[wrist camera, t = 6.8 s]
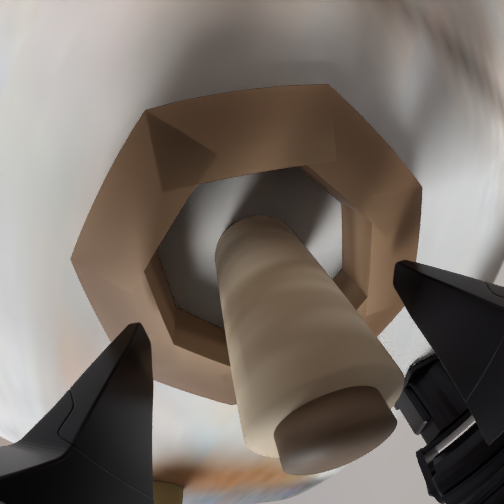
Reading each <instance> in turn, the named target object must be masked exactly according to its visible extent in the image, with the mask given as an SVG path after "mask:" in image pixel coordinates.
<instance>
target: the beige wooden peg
mask: <svg viewBox="0 0 504 504" xmlns="http://www.w3.org/2000/svg"><path fill="white" fill-rule="evenodd" d="M215 263H216V271H217V279H218V286H219V293H220V300H221V307H222V314H223V321H224V328H225V334H226V341H227V347H228V353H229V360H230V366H231V372H232V377H233V383H234V389H235V395H236V400H237V406H238V411H239V417H240V422H241V427H242V432H243V437H244V441H245V444H246V446H247V447H248V448H249V449H250V450H251V451H253V452H255V453H257V454H260V455H263V456H267V457H275V458H280V461H281V465H282V468H283V471H284V472H285V473H287V474H290V475H311V474H317V473H321V472H325V471H329V470H332V469H335V468H338V467H341V466H343V465H346V464H348V463H350V462H352V461H354V460H356V459H358V458H360V457H362V456H364V455H366V454H367V453H369V452H370V451H372V450H373V449H375V448H376V447H377V446H379V445H380V444H381V443H382V442H384V441H385V440H386V439H387V438H388V437H389V436H390V435H391V434H392V432H393V431H394V430H395V428H396V425H397V420H396V418H395V417H394V415H393V413H392V412H391V410H390V409H391V408H392V407H393V405H394V404H395V403H396V401H397V400H398V398H399V396H400V394H401V392H402V390H403V387H404V375H403V373H402V371H401V370H400V368H399V367H398V366H397V364H396V363H395V361H394V360H393V359H392V357H391V356H390V355H389V353H388V352H387V350H386V349H385V348H384V346H383V345H382V344H381V342H380V341H379V340H378V338H377V337H376V336H375V334H374V333H373V332H372V330H371V329H370V328H369V326H368V325H367V324H366V322H365V321H364V320H363V318H362V317H361V316H360V315H359V313H358V312H357V311H356V309H355V308H354V307H353V306H352V304H351V303H350V302H349V300H348V299H347V298H346V297H345V295H344V294H343V293H342V291H341V290H340V289H339V288H338V286H337V285H336V284H335V283H334V281H333V280H332V279H331V278H330V276H329V275H328V274H327V273H326V271H325V270H324V269H323V268H322V267H321V265H320V264H319V263H318V262H317V260H316V259H315V258H314V257H313V256H312V254H311V253H310V252H309V251H308V249H307V248H306V247H305V246H304V245H303V243H302V242H301V241H300V240H299V239H298V237H297V236H296V235H295V234H294V233H293V232H292V230H291V229H290V228H289V227H288V226H287V225H286V224H285V223H283V222H282V221H280V220H278V219H276V218H273V217H269V216H251V217H247V218H244V219H242V220H239V221H238V222H236V223H234V224H233V225H231V226H230V227H229V228H228V229H227V230H226V231H225V232H224V233H223V235H222V236H221V238H220V239H219V242H218V244H217V247H216V252H215Z"/></svg>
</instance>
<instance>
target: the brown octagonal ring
mask: <svg viewBox="0 0 504 504" xmlns="http://www.w3.org/2000/svg"><path fill="white" fill-rule="evenodd" d="M296 166H297V167H298V168H299V169H301V170H302V171H303V172H304V173H306V174H307V175H308V176H309V177H311V178H312V179H313V180H314V181H316V182H317V183H318V184H319V185H320V186H322V187H323V188H324V189H325V190H326V191H328V192H329V193H330V194H331V195H332V196H333V197H335V198H336V199H337V200H338V201H339V202H340V203H341V207H342V270H341V271H340V273H339V274H338V275H337V276H336V278H335V279H334V280H333V281H334V283H335V284H336V285H337V286H338V288H339V289H340V290H341V291H342V293H343V294H344V295H345V297H346V298H347V299H348V300H349V302H350V303H351V304H352V306H353V307H354V308H355V309H356V311H357V312H358V313H359V315H360V316H361V317H362V318H363V320H364V321H365V322H366V324H367V325H368V326H369V328H370V329H371V330H372V332H373V333H374V334H375V336H376V337H377V336H378V335H379V334H380V333H381V332H382V331H383V330H384V329H385V328H386V327H387V325H388V324H389V323H390V322H391V321H392V320H393V319H394V318H395V316H396V315H397V314H398V313H399V312H400V311H401V310H402V308H403V307H404V306H405V305H404V304H403V302H402V300H401V299H400V297H399V295H398V293H397V292H396V290H395V288H394V286H393V275H394V266H395V264H396V262H398V261H402V260H409V261H413V262H416V257H417V249H418V240H419V231H420V219H421V205H422V186H421V185H420V184H419V182H418V181H417V180H416V178H415V177H414V176H413V174H412V173H411V172H410V171H409V169H408V168H407V167H406V166H405V164H404V163H403V162H402V161H401V159H400V158H399V157H398V156H397V155H396V153H395V152H394V151H393V150H392V149H391V148H390V146H389V145H388V144H387V143H386V142H385V141H384V140H383V138H382V137H381V136H380V135H379V134H378V133H377V132H376V131H375V130H374V129H373V128H372V126H371V125H370V124H369V123H368V122H367V121H366V120H365V119H364V118H363V117H362V116H361V115H360V114H359V113H358V112H357V111H356V110H355V109H354V108H353V107H352V106H351V105H350V104H349V103H348V102H347V101H346V100H345V99H344V98H343V97H341V96H340V95H339V94H338V93H337V92H336V91H335V90H334V89H333V88H332V87H330V86H329V85H328V84H312V85H291V86H277V87H266V88H256V89H248V90H240V91H233V92H227V93H220V94H214V95H209V96H203V97H198V98H193V99H188V100H184V101H179V102H175V103H171V104H167V105H163V106H159V107H155V108H151V109H148V110H145V111H144V113H143V114H142V116H141V118H140V119H139V121H138V122H137V124H136V125H135V127H134V129H133V130H132V132H131V133H130V135H129V137H128V138H127V140H126V142H125V143H124V145H123V147H122V149H121V150H120V152H119V154H118V156H117V158H116V159H115V161H114V163H113V165H112V167H111V169H110V170H109V172H108V174H107V176H106V178H105V180H104V182H103V184H102V186H101V188H100V190H99V192H98V194H97V196H96V199H95V201H94V203H93V205H92V207H91V209H90V212H89V214H88V216H87V218H86V221H85V223H84V226H83V228H82V230H81V233H80V235H79V238H78V240H77V243H76V245H75V248H74V251H73V253H72V256H71V262H72V264H73V266H74V269H75V271H76V273H77V276H78V278H79V280H80V282H81V285H82V287H83V289H84V291H85V293H86V295H87V297H88V299H89V301H90V303H91V306H92V308H93V309H94V311H95V313H96V315H97V317H98V319H99V321H100V323H101V325H102V327H103V328H104V330H105V332H106V334H107V336H108V337H109V339H110V341H111V343H112V341H113V340H114V339H115V338H116V337H117V336H118V335H119V334H120V333H121V332H122V331H123V330H124V329H125V328H126V326H127V325H128V324H131V323H137V322H140V323H141V324H142V325H143V327H144V329H145V331H146V333H147V335H148V337H149V339H150V342H151V347H152V369H153V380H155V381H158V382H160V383H163V384H166V385H169V386H171V387H174V388H177V389H180V390H183V391H186V392H189V393H192V394H195V395H198V396H201V397H205V398H208V399H211V400H215V401H218V402H222V403H226V404H229V405H235V404H237V400H236V395H235V389H234V383H233V377H232V372H231V366H230V360H229V353H228V347H227V341H226V334H225V329H222V328H220V327H218V326H215V325H213V324H211V323H209V322H207V321H204V320H202V319H200V318H198V317H196V316H194V315H192V314H189V313H187V312H185V311H183V310H181V309H179V308H177V307H176V305H175V302H174V300H173V297H172V294H171V291H170V288H169V285H168V283H167V280H166V277H165V274H164V271H163V268H162V265H161V262H160V259H159V255H158V252H157V248H158V246H159V245H160V243H161V241H162V239H163V238H164V236H165V234H166V233H167V231H168V230H169V228H170V226H171V225H172V223H173V221H174V220H175V218H176V217H177V215H178V213H179V212H180V210H181V209H182V207H183V206H184V204H185V202H186V201H187V199H188V198H189V196H190V195H191V193H192V192H193V190H194V189H195V187H196V186H197V185H198V184H202V183H207V182H212V181H216V180H221V179H226V178H231V177H237V176H242V175H247V174H253V173H259V172H264V171H270V170H277V169H283V168H289V167H296Z"/></svg>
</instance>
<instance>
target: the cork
mask: <svg viewBox="0 0 504 504" xmlns="http://www.w3.org/2000/svg"><path fill="white" fill-rule="evenodd" d="M153 495H154V498H153V499H154V504H182V500H183V488H182V487H180V486H178V485H175V484H171V483H167V482H160V481H153Z"/></svg>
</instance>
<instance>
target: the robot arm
mask: <svg viewBox="0 0 504 504" xmlns="http://www.w3.org/2000/svg"><path fill="white" fill-rule="evenodd" d="M393 286H394V288H395V290H396V292H397V293H398V295H399V297H400V299H401V300H402V302H403V304H404V305H405V307H406V309H407V311H408V312H409V314H410V316H411V318H412V319H413V321H414V322H415V323H416V325H417V326H418V328H419V329H420V331H421V332H422V334H423V335H424V337H425V338H426V339H427V341H428V342H429V344H430V345H431V347H432V348H433V350H434V352H435V353H436V355H434V356H432V357H431V358H429V359H427V360H425V361H423V362H421V363H419V364H417V365H415V366H413V367H412V368H411V369H410V370H409V371H408V374H407V376H406V379H405V382H404V387H403V390H402V392H401V394H400V396H399V398H398V400H397V401H396V403H395V405H394V407H395V409H396V410H398V409H400V410H401V412H402V414H403V415H404V416H405V418H406V420H407V422H408V423H409V425H410V427H411V428H412V430H413V432H414V433H415V434H416V435H419V434H421V435H422V437H423V439H424V440H425V442H426V444H427V445H426V446H425V447H424V448H421V449H420V450H418V451H417V452H416V457H417V459H418V463H419V466H420V468H421V471H422V473H423V476H424V479H425V481H426V485H427V490H428V494H429V495H430V496H433V497H435V499H436V500H437V501H438V502H439V503H441V504H445V503H446V504H504V287H502V286H498V285H495V284H491V283H488V282H484V281H481V280H478V279H474V278H471V277H467V276H464V275H460V274H457V273H453V272H450V271H446V270H442V269H439V268H435V267H431V266H428V265H424V264H420V263H417V262H413V261H409V260H402V261H398V262H396V264H395V266H394V275H393ZM152 410H153V369H152V347H151V342H150V339H149V337H148V335H147V333H146V331H145V329H144V327H143V325H142V324H141V323H140V322H137V323H131V324H128V325H127V326H126V328H125V329H124V330H123V331H122V332H121V333H120V334H119V335H118V336H117V337H116V338H115V339H114V340H113V341H112V343H111V344H110V345H109V346H108V347H107V348H106V349H105V350H104V351H103V352H102V353H101V354H100V356H99V357H98V358H97V359H96V360H95V361H94V362H93V363H92V364H91V365H90V367H89V368H88V369H87V370H86V371H85V372H84V373H83V374H82V375H81V377H80V378H79V379H78V380H77V381H76V382H75V383H74V384H73V386H72V387H71V388H70V390H68V391H67V392H66V394H65V395H64V396H63V397H62V398H61V399H60V400H59V401H58V403H57V404H56V405H55V406H54V407H53V408H52V409H51V410H50V411H49V412H48V413H47V414H46V415H45V416H44V417H43V418H42V419H41V420H40V421H39V422H38V423H37V424H36V425H35V426H34V427H33V428H32V429H31V430H30V431H29V432H28V433H27V434H26V435H25V436H24V437H23V438H22V439H21V440H19V441H18V442H16V443H14V444H12V445H8V446H2V447H0V504H154V499H153V498H154V495H153V473H152ZM474 420H475V421H476V423H474V424H473V425H472V426H471V427H470V428H469V429H468V430H467V431H466V432H464V433H463V434H462V435H461V436H460V437H459V438H457V439H456V440H455V441H454V442H453V443H451V444H450V445H449V446H448V447H446V448H445V449H444V450H443V451H441V452H440V453H438V451H439V450H440V449H441V448H443V447H444V446H445V445H447V444H448V443H449V442H450V441H452V440H453V439H454V438H455V437H456V436H457V435H459V434H460V433H461V432H462V431H463V430H464V429H466V428H467V427H468V426H469V425H470V424H471V423H472V422H473V421H474Z"/></svg>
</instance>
